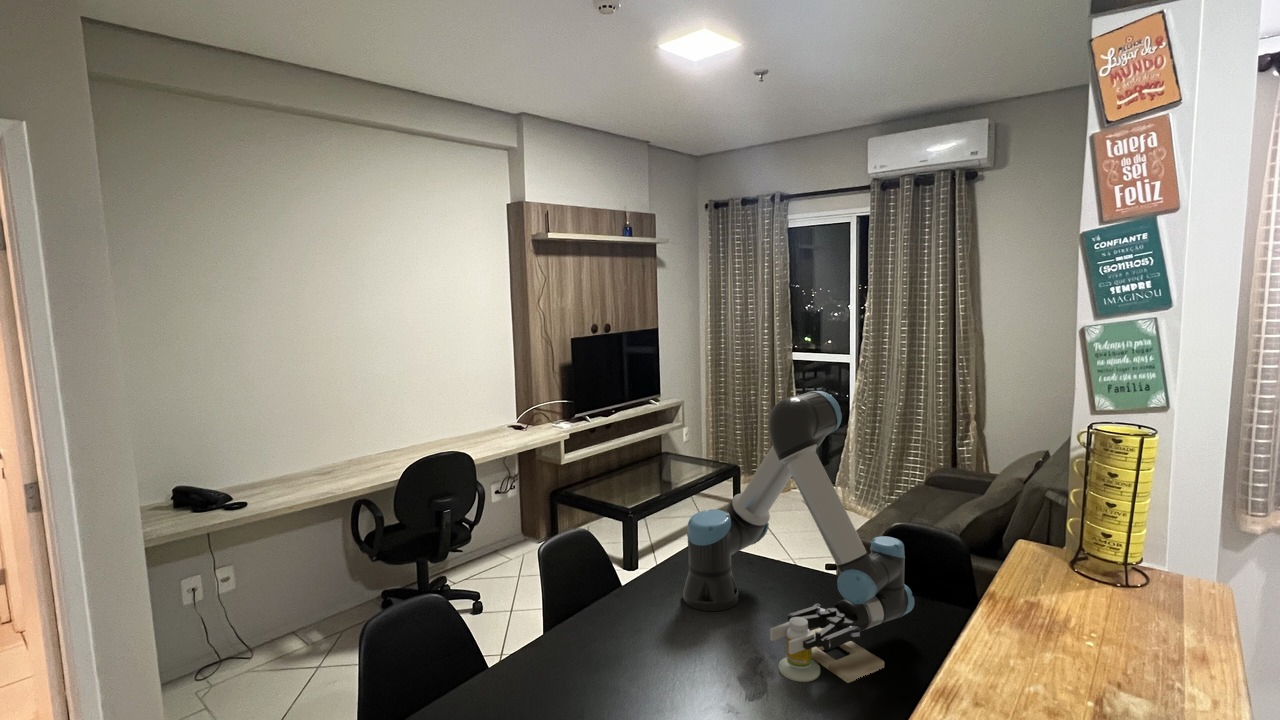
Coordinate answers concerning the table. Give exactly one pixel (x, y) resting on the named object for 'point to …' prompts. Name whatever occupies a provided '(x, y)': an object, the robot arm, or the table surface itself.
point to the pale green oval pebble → (799, 671)
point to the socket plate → (848, 661)
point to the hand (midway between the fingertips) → (780, 641)
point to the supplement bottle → (794, 631)
